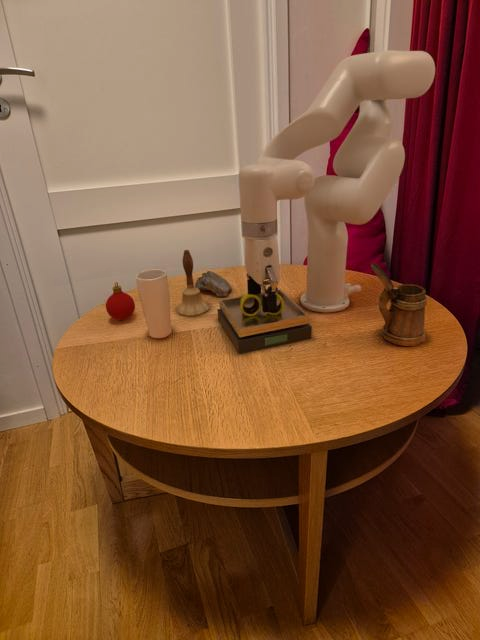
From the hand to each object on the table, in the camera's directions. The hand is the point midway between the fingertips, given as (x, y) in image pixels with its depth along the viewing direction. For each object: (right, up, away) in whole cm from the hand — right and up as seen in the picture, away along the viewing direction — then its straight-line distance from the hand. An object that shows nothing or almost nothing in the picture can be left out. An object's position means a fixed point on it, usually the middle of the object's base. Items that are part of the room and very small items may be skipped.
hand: (261, 302), depth 93 cm
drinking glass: (-24, -7, +4) cm, 25 cm away
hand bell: (-17, -1, +15) cm, 23 cm away
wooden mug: (+29, -8, -3) cm, 30 cm away
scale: (0, -6, +3) cm, 7 cm away
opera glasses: (0, -2, +1) cm, 3 cm away
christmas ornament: (-35, -4, +12) cm, 37 cm away
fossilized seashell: (-13, +4, +25) cm, 28 cm away
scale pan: (0, -3, +1) cm, 3 cm away
